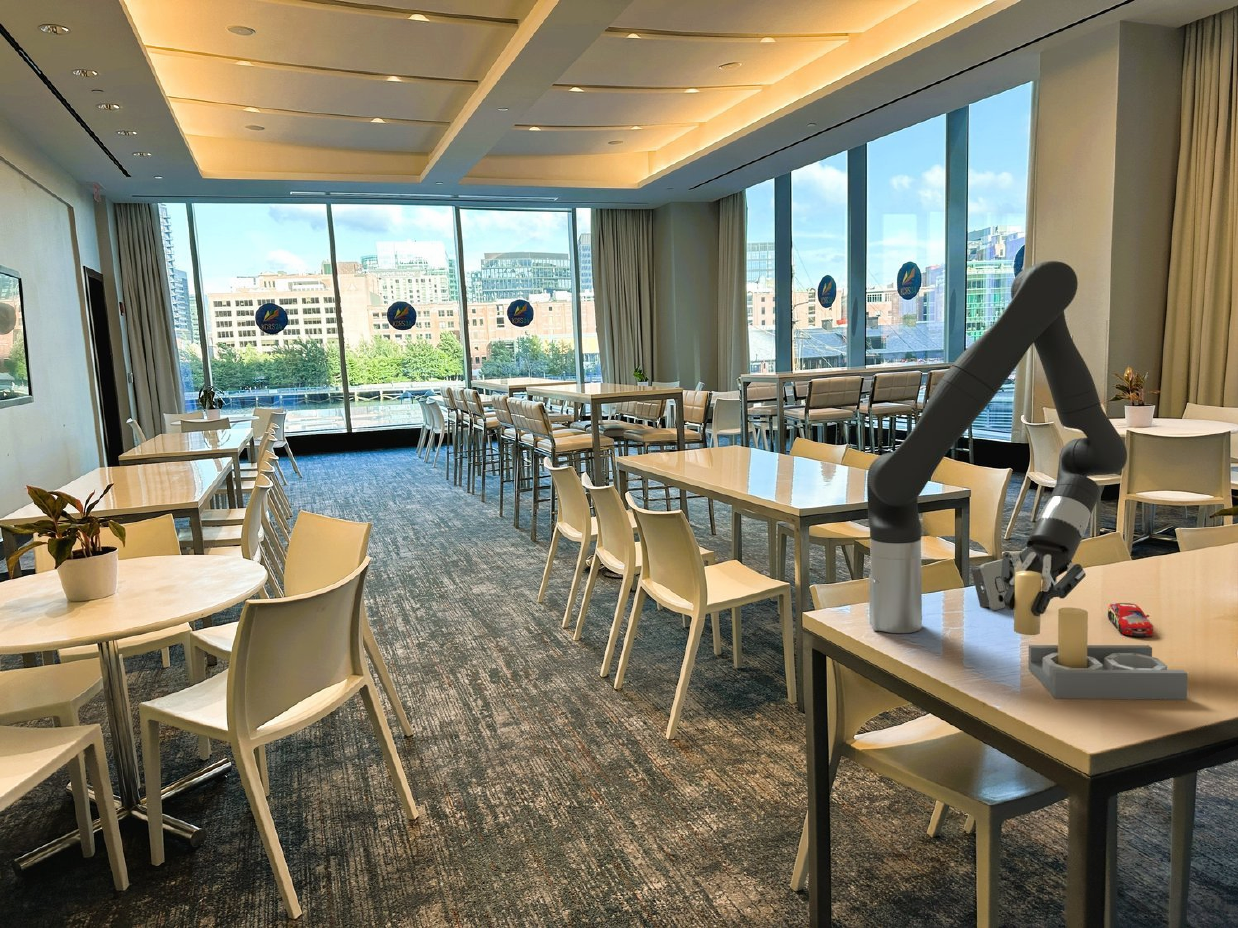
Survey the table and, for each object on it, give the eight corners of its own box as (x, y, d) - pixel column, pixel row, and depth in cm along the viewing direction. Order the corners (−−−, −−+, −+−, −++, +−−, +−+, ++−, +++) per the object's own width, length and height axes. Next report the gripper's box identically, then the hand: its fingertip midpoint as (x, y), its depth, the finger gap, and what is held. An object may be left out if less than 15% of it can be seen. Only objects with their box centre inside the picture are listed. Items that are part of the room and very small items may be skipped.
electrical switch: (994, 611, 167) (990, 565, 166) (971, 608, 171) (967, 563, 171) (1023, 603, 171) (1019, 558, 171) (1000, 600, 176) (996, 556, 176)
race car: (1156, 641, 147) (1157, 619, 147) (1121, 639, 149) (1121, 617, 148) (1137, 618, 159) (1138, 597, 159) (1105, 616, 161) (1105, 596, 161)
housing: (1055, 698, 125) (1055, 623, 124) (1028, 668, 137) (1029, 600, 135) (1186, 699, 122) (1189, 623, 121) (1147, 669, 134) (1149, 599, 133)
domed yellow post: (1018, 634, 140) (1019, 576, 139) (1010, 627, 144) (1012, 570, 143) (1043, 635, 140) (1045, 576, 138) (1035, 627, 144) (1036, 570, 142)
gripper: (1012, 510, 150) (973, 589, 144) (1095, 521, 138) (1057, 607, 133) (1026, 535, 153) (989, 613, 148) (1109, 547, 142) (1072, 632, 136)
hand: (1021, 610), depth 140 cm, fingers closed on domed yellow post, 4 cm apart
